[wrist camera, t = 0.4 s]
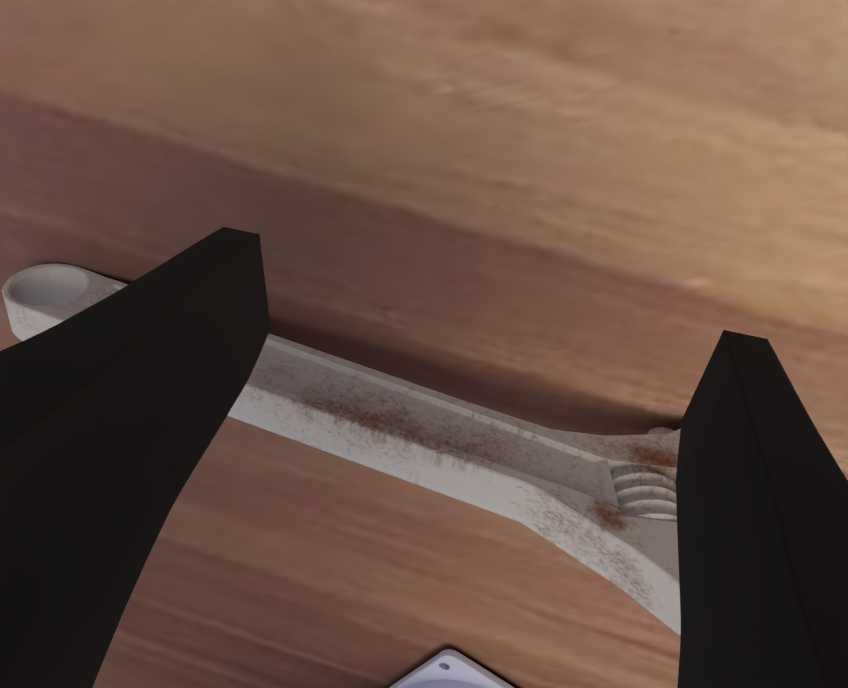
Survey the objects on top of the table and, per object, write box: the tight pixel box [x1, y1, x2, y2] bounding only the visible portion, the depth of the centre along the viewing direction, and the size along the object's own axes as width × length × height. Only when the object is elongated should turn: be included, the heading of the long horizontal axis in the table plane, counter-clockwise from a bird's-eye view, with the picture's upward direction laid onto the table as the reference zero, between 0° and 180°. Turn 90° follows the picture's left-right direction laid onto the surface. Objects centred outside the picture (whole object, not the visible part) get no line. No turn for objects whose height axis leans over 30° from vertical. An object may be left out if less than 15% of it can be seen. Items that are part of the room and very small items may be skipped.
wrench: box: [2, 264, 681, 636], centre depth 24 cm, size 8×2×30 cm
